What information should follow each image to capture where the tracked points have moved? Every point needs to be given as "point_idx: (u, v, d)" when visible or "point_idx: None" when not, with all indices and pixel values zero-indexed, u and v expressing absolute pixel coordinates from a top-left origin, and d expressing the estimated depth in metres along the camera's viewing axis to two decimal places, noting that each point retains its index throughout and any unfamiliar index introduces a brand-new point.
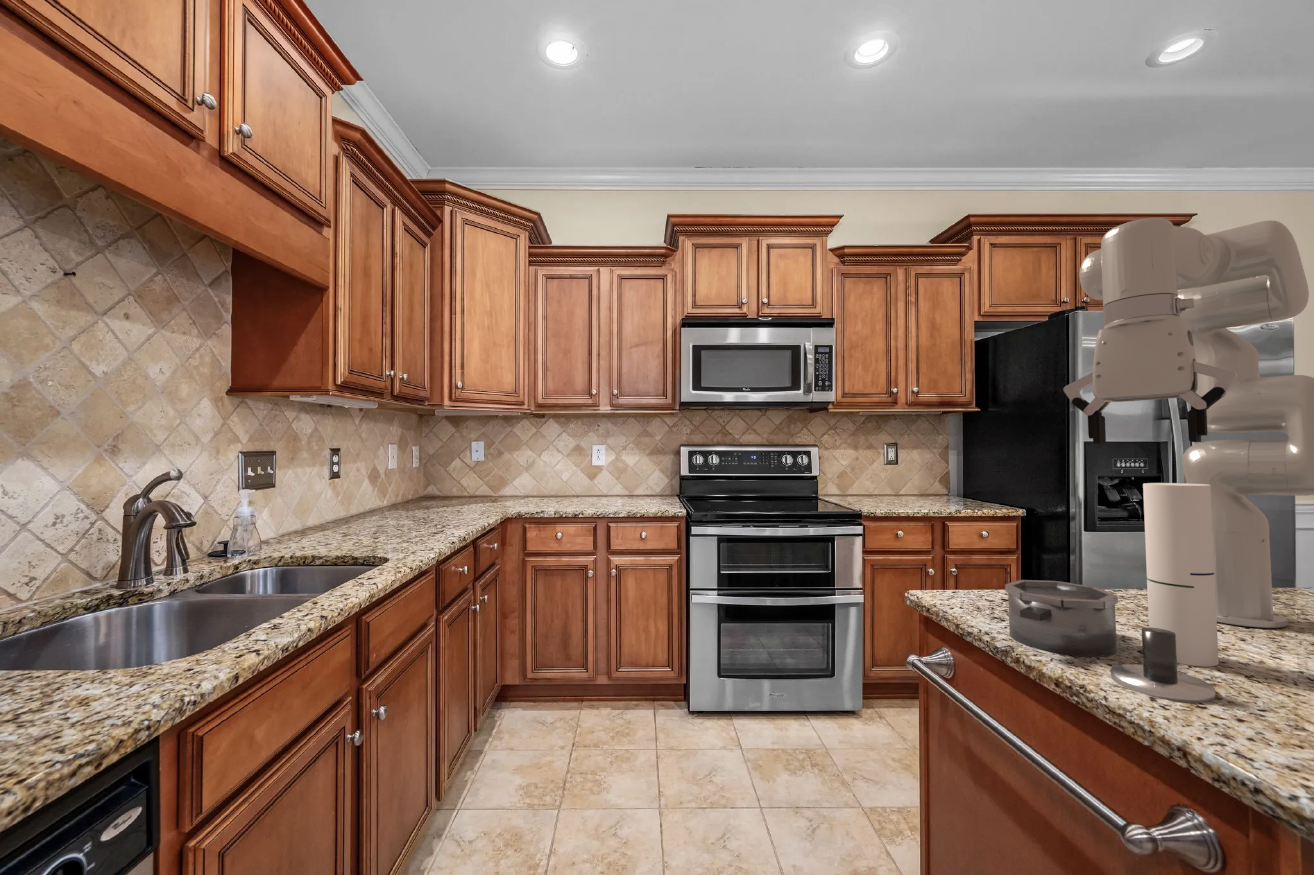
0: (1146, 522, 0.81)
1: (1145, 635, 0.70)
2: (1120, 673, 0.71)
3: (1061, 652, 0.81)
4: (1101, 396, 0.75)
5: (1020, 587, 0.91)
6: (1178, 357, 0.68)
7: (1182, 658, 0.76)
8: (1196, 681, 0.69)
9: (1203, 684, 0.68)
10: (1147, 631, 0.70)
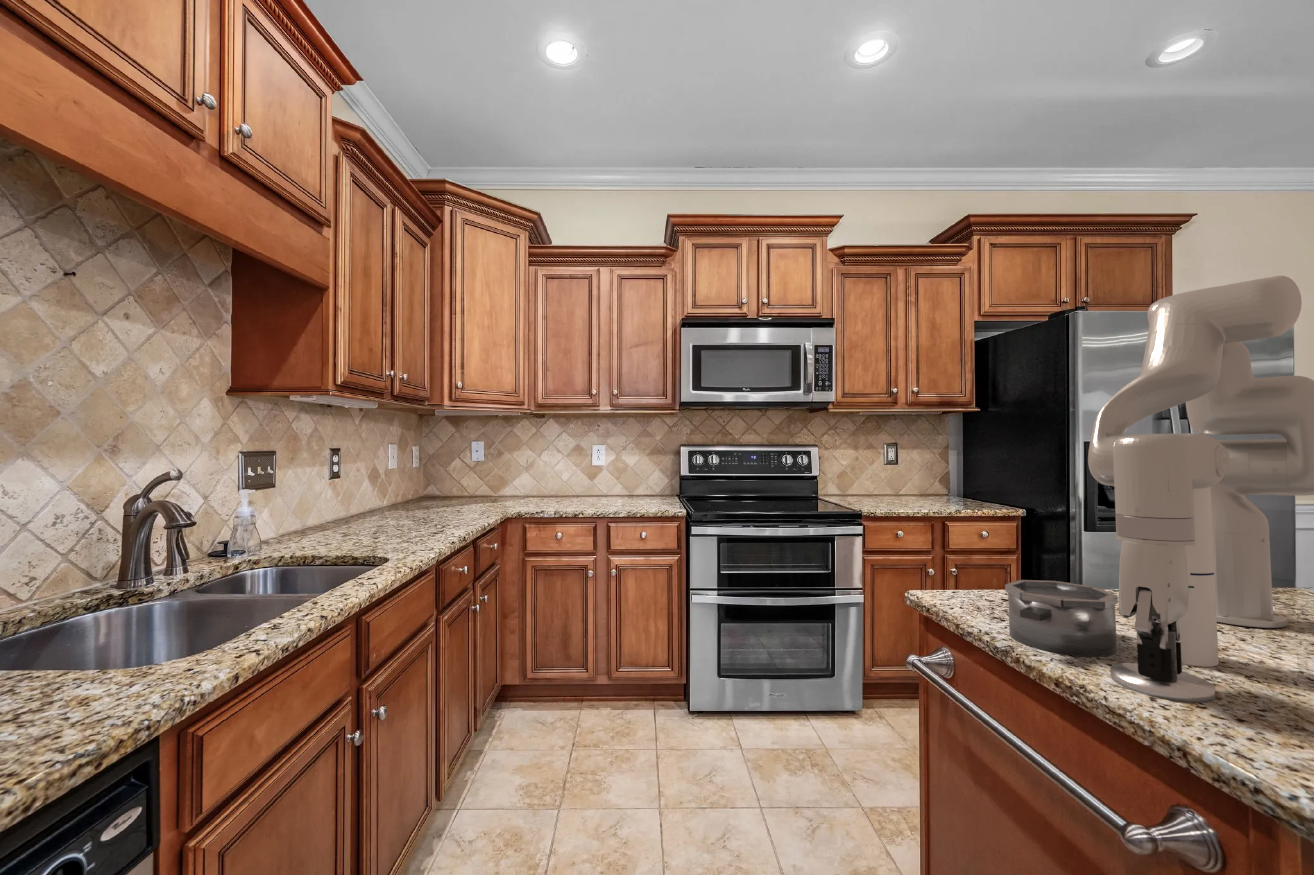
0: None
1: None
2: (1120, 672, 0.71)
3: (1061, 652, 0.81)
4: (1167, 622, 0.66)
5: (1020, 587, 0.91)
6: (1187, 579, 0.70)
7: (1182, 658, 0.76)
8: (1196, 680, 0.69)
9: (1203, 683, 0.68)
10: None
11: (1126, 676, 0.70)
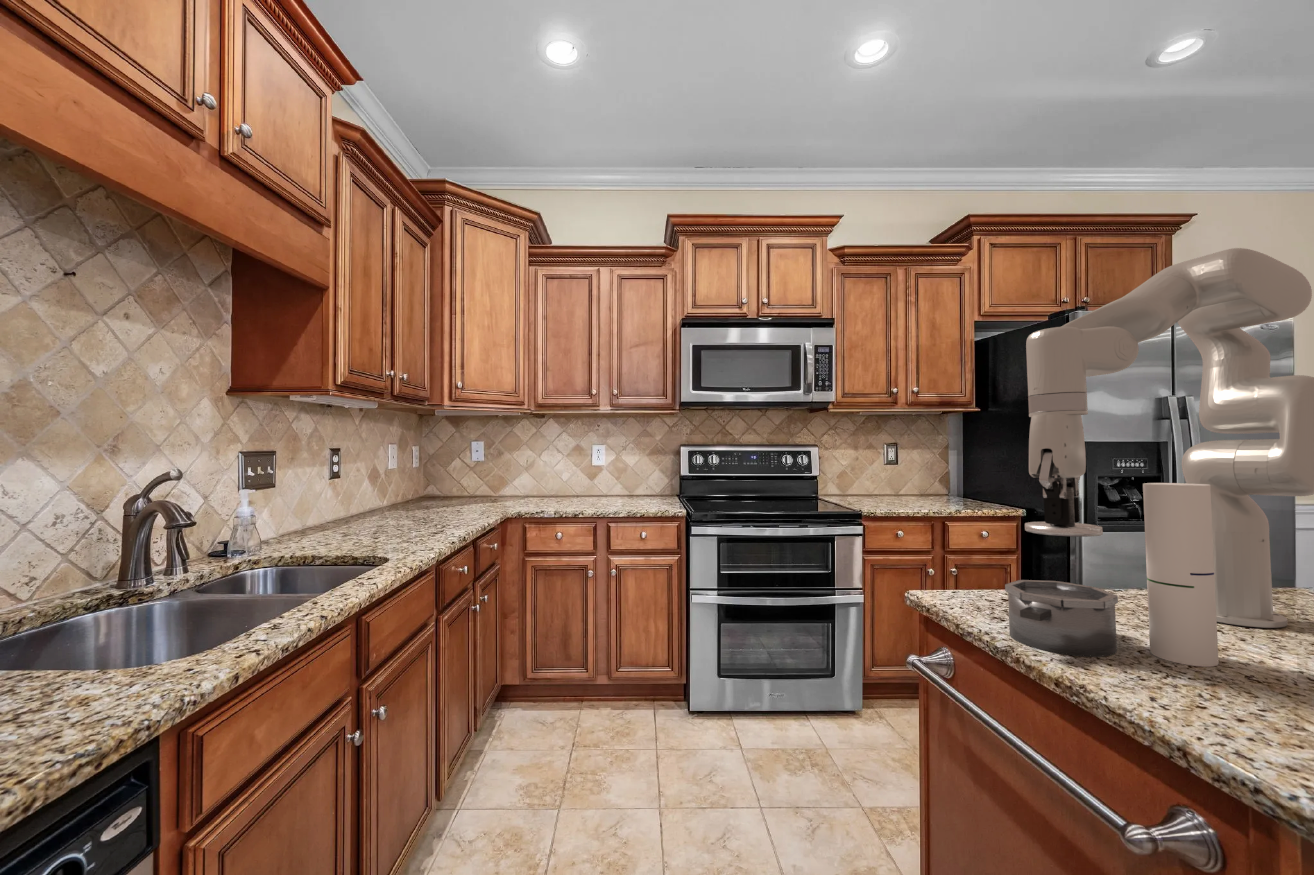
0: (1146, 522, 0.81)
1: None
2: (1031, 524, 0.87)
3: (1061, 652, 0.81)
4: (1064, 475, 0.82)
5: (1020, 587, 0.91)
6: (1084, 447, 0.87)
7: (1182, 658, 0.76)
8: (1090, 525, 0.85)
9: (1095, 526, 0.84)
10: None
11: (1035, 525, 0.86)
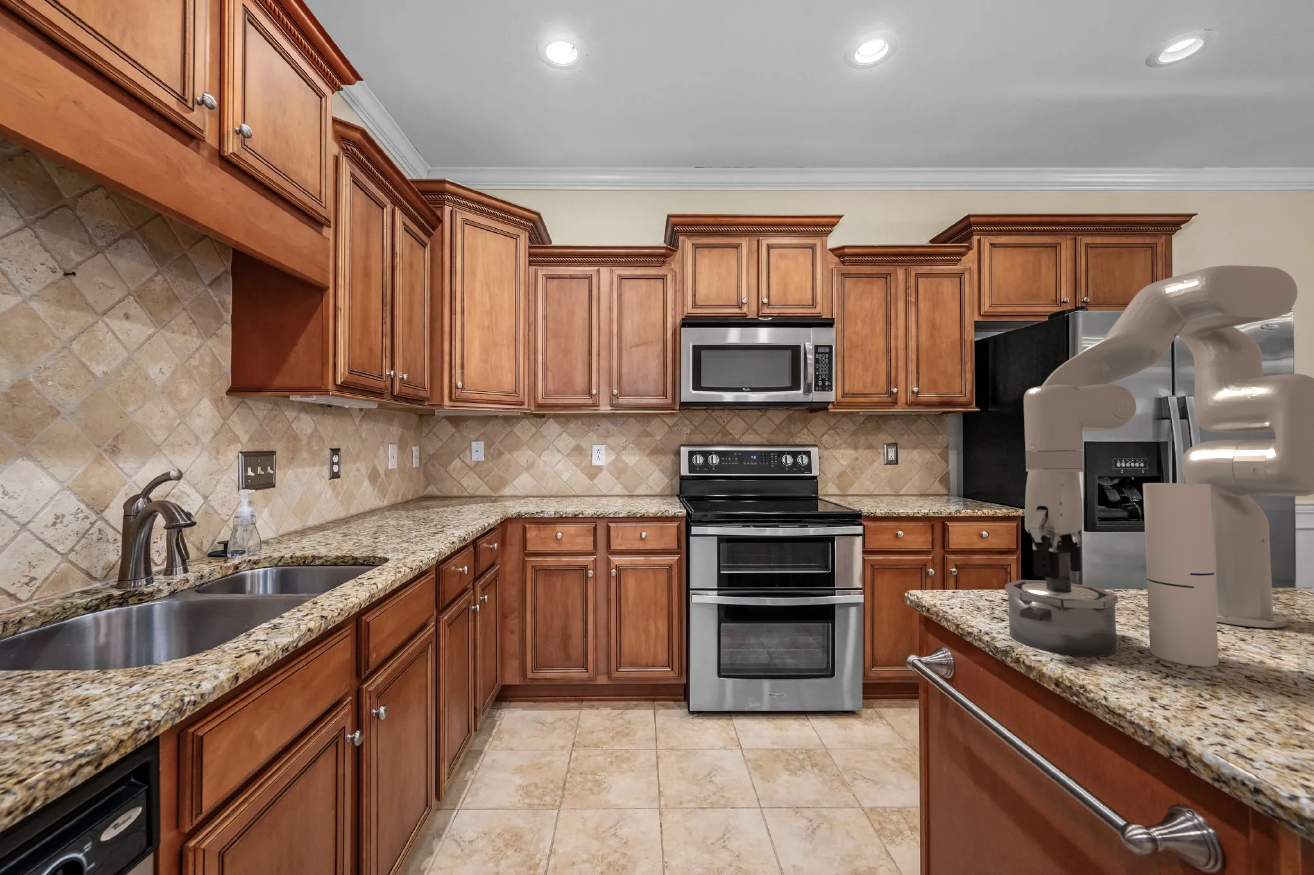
0: (1146, 522, 0.81)
1: None
2: (1028, 587, 0.88)
3: (1061, 652, 0.81)
4: (1060, 533, 0.83)
5: (1020, 587, 0.91)
6: (1081, 502, 0.87)
7: (1182, 658, 0.76)
8: (1086, 591, 0.86)
9: (1091, 592, 0.85)
10: None
11: (1032, 589, 0.87)
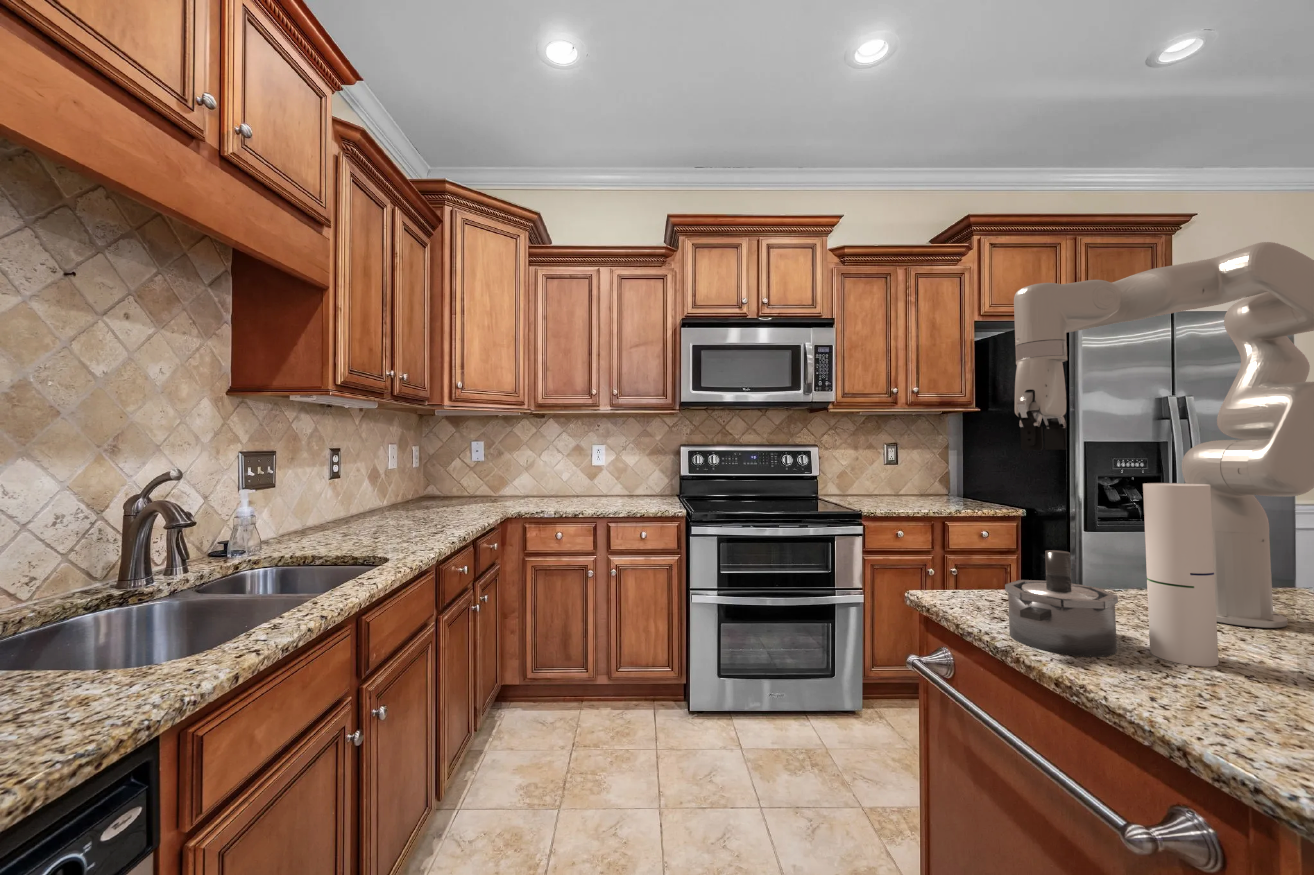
0: (1146, 522, 0.81)
1: (1047, 555, 0.87)
2: (1028, 587, 0.88)
3: (1061, 652, 0.81)
4: (1045, 412, 0.93)
5: (1020, 587, 0.91)
6: (1065, 390, 0.98)
7: (1182, 658, 0.76)
8: (1086, 591, 0.86)
9: (1091, 592, 0.85)
10: (1048, 552, 0.87)
11: (1032, 589, 0.87)
